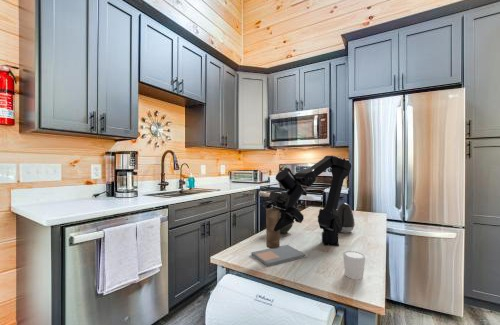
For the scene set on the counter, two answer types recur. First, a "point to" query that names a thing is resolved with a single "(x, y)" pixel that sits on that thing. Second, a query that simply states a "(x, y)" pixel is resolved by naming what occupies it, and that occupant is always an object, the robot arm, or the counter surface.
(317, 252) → the counter surface
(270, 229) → the walnut roller
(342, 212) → the dark grey tapered dome
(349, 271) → the white cup
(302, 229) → the counter surface
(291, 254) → the slate board
